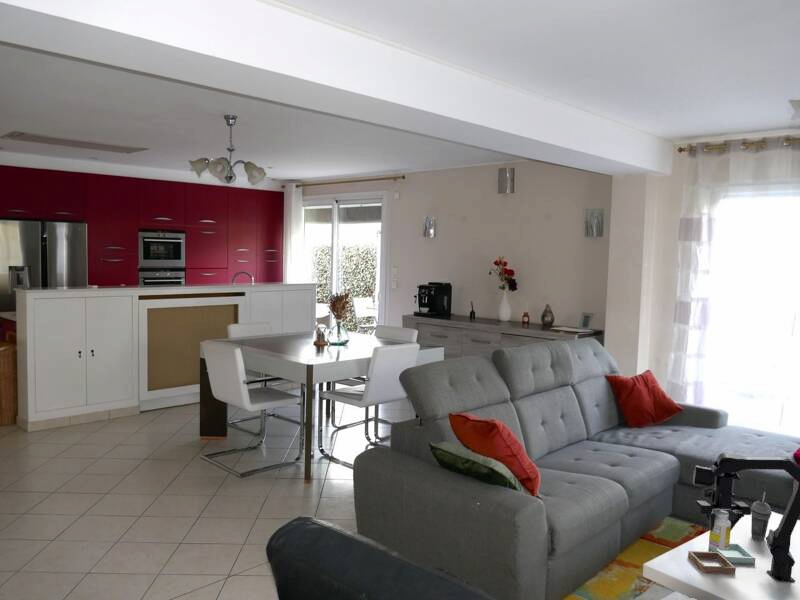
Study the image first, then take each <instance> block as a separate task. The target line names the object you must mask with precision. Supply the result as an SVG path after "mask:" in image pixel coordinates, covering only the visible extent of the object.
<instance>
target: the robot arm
mask: <svg viewBox="0 0 800 600" xmlns="http://www.w3.org/2000/svg"><path fill="white" fill-rule="evenodd" d="M745 470H769V471H770V470H772V471H773V470H775V471H776V470H777V471H778V470H779V471H780V470H781V471H782V470H783V471H785V472H786V473H788V474H789V476H791V477H792V478H793V479H794V480H793V483H792V484H793V486H792V494H791V496H790V499H789V500H788V503H787V506H786V508H785V510H784V512H783V515H782V517H781V520H780V522H779V524H778V527H776V529H774V530H773V529H769V531H768V535H767V536H765V541H766V546H767V548H768V550H769V553H770V555H772V559H771V564H770V569H769V570H766V573H767V574H768V575H770V576H771V577H772V578H773V579H775V580H776V582H791V583H792V582H793V583H794V582H795V581H796V579H794V578H793V577H792V571H793V567H794V565H795V564H796V561H795V559H794V556H793V554H792V553H791V551H790V549H791V537H792V534H793V532H794V529H795V528H796V525H797V522H798V520H799V517H800V466H799V465H798V464H797V463H795V462H794V461H792V460H791V459H790V457H788V456H784V455H782V456H743V455H740V454H736V453H729V452H721V453H720V454H719V455H717V458H716V460H715V462H713V463H712V464H711V465H710V467H706V466H705V467H704V466H701V465H697V464H696V465H695V467H694V471H693V475H692V476H693V477H692V483H693V485H696V486H703V487H707V488H701V490H700V491H701V492H700V496H701V498H703V499H704V498H705V500H695V501H693V508H694V509H695V510H696V511H697V512H699V513H700V514H703V515H704V516H705V518H706V522H707V524H708V528H709V531H710V530H711V531H712V530H713V526H714V521H715V516H716V515H715V514H714V511H715V510H723V511H727V512H728V513H729V517H728V520H729V521H730V522H731V531H732V530H733V529H734V527H735V526H736V524H737V523H739V521H740V520H741V519H742V518H744V517H745V516H752V514H751V506H749V505H748V504H746V502H744V501H733V498H735V496H736V494H735V493H734V486H735V485H734V484H735V482H734V481H735V480H737V481H740V480H741V477H740V475H739V474H738V473H739V472H742V471H745ZM713 485H714V487H715V488H712V489H711V490H712V491H709V489H708V488H711V487H712V486H713ZM707 501H710V503H711V504H710V503H708V502H707Z"/></svg>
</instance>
